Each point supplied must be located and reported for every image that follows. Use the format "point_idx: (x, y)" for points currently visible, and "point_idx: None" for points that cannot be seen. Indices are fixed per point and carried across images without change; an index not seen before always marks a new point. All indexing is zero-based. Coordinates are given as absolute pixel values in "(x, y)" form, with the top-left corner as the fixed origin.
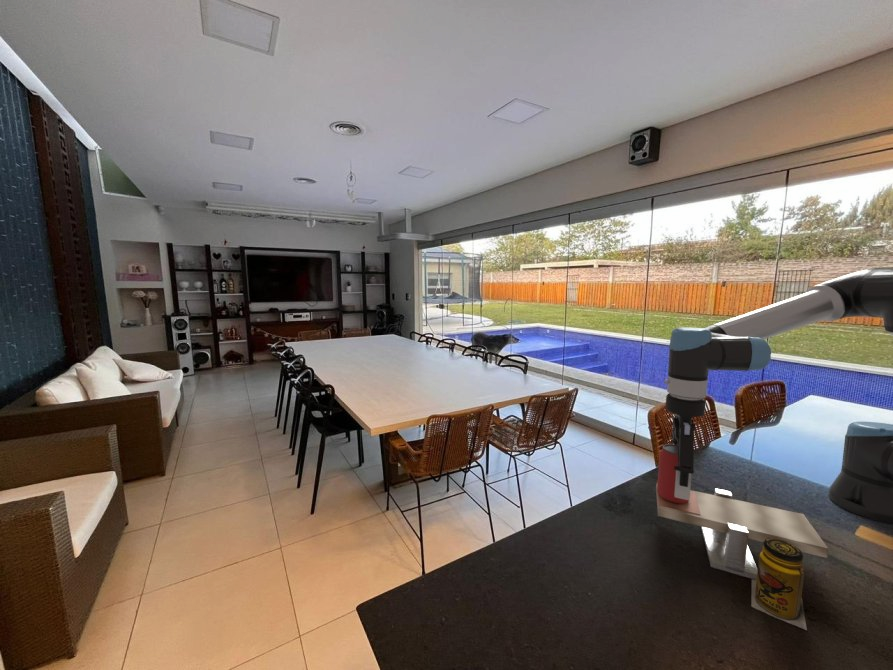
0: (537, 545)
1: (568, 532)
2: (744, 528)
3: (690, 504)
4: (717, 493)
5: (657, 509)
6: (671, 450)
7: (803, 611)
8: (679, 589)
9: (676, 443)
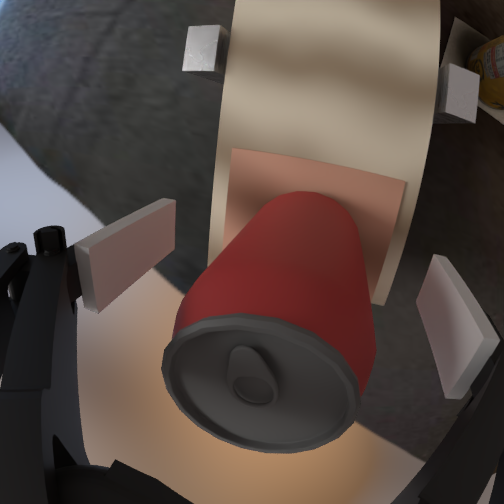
0: (400, 427)
1: (363, 396)
2: (459, 73)
3: (343, 194)
4: (215, 68)
5: None
6: (273, 420)
7: (488, 39)
8: (492, 245)
9: (73, 292)
